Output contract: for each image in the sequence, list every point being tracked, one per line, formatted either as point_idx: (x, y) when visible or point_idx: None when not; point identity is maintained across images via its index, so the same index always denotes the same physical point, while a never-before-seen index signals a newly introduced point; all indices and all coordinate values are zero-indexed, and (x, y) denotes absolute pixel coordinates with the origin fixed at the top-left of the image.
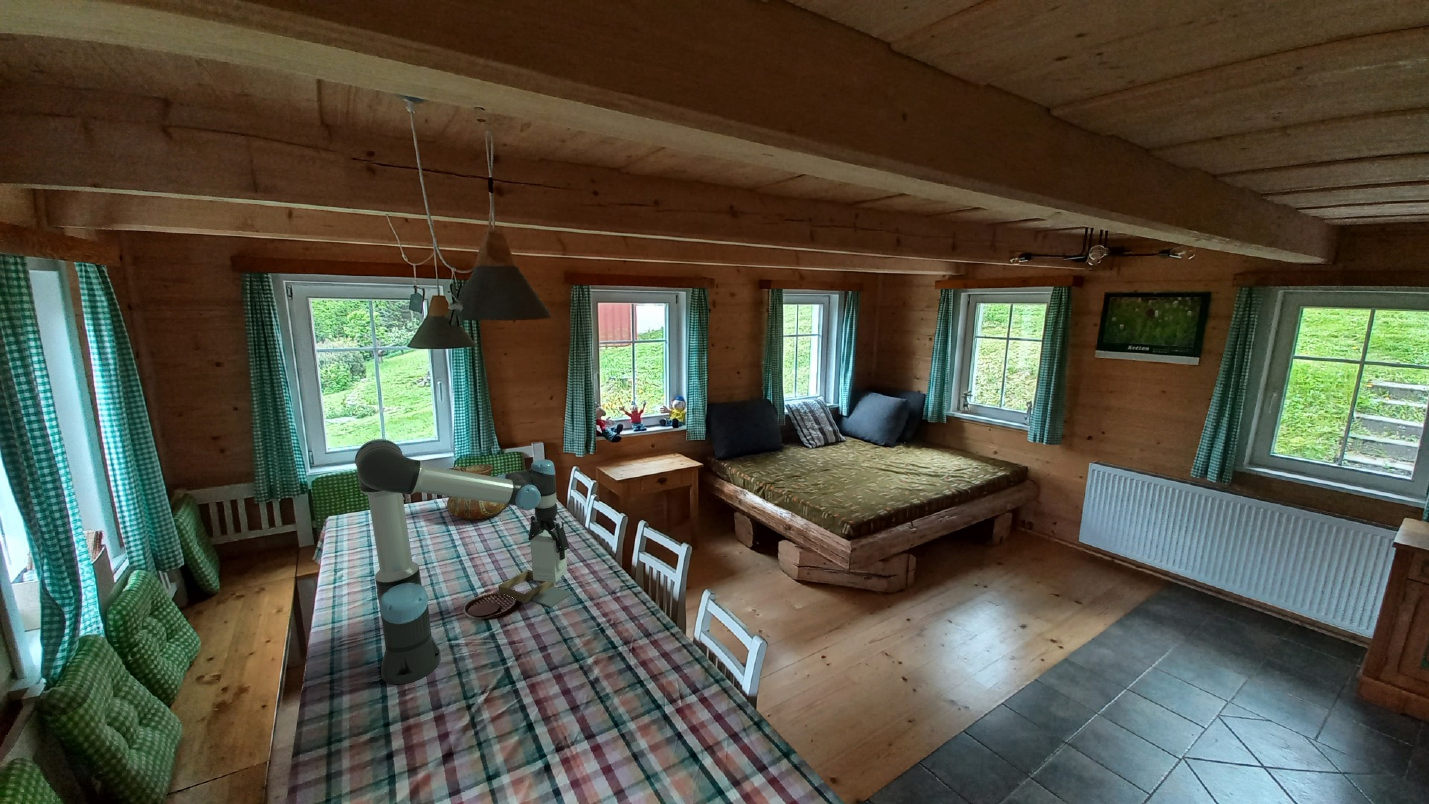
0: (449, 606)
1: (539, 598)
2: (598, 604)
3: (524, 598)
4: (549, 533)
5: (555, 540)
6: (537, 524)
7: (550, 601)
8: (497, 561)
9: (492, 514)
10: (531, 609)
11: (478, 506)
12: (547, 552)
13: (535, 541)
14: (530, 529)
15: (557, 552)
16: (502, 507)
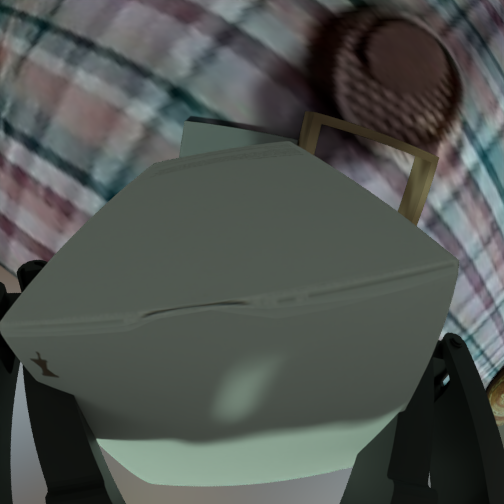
0: (485, 67)
1: None
2: (62, 209)
3: (310, 114)
4: (87, 501)
5: (31, 384)
6: (438, 499)
7: (208, 147)
8: (475, 288)
9: (499, 380)
10: (251, 86)
11: None
12: (132, 225)
13: (354, 283)
14: (491, 422)
15: (41, 262)
16: (489, 398)
